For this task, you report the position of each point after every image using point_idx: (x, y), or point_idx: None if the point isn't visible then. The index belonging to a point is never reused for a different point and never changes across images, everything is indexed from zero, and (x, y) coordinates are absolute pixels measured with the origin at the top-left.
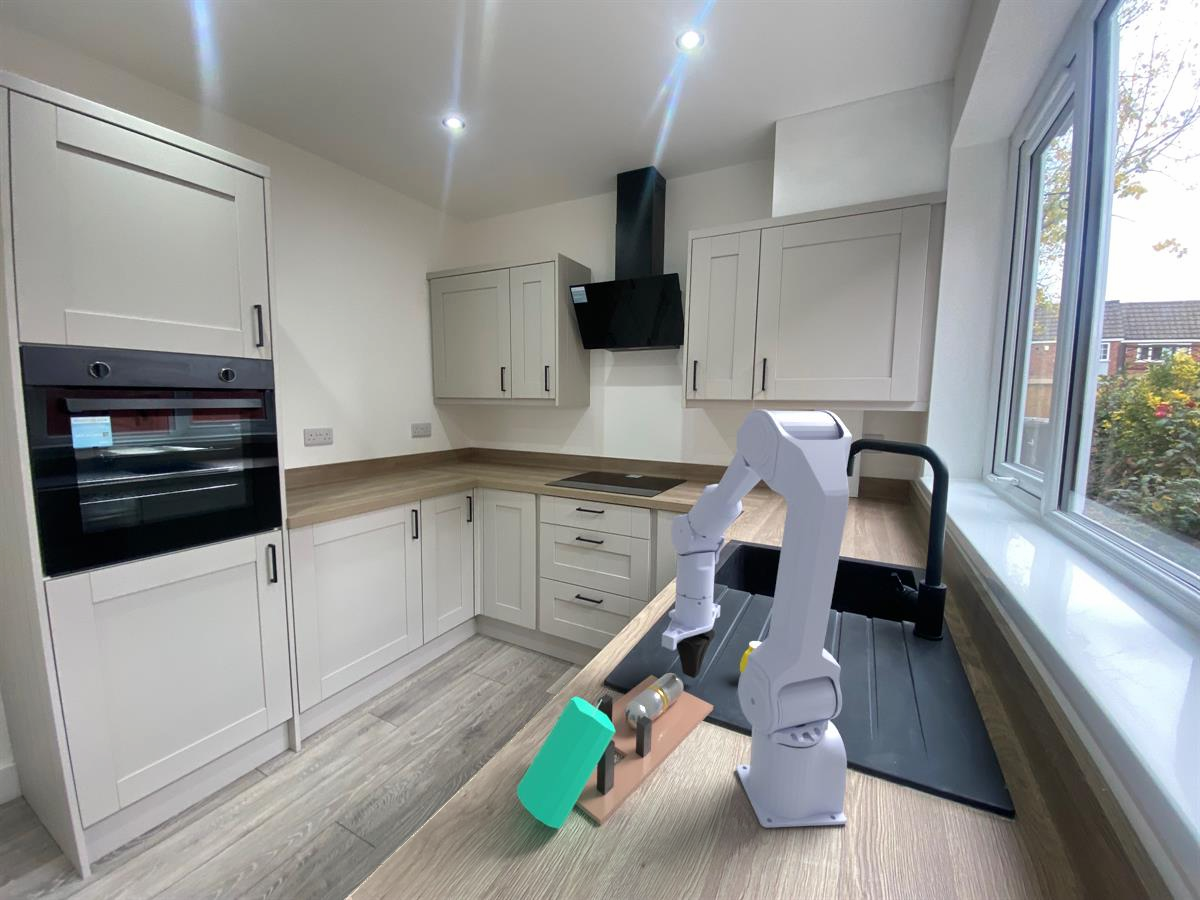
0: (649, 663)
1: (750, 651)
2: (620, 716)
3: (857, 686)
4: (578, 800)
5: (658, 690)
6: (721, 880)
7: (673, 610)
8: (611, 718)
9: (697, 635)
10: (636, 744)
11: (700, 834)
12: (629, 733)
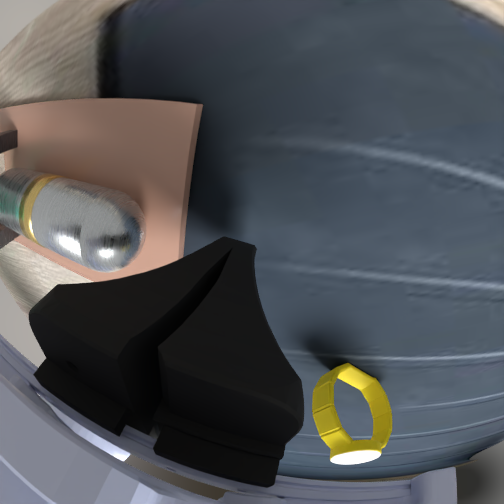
0: (302, 56)
1: (336, 441)
2: (34, 141)
3: None
4: None
5: (27, 235)
6: (25, 312)
7: (33, 485)
8: (3, 151)
9: (144, 432)
10: None
11: (28, 298)
12: None
